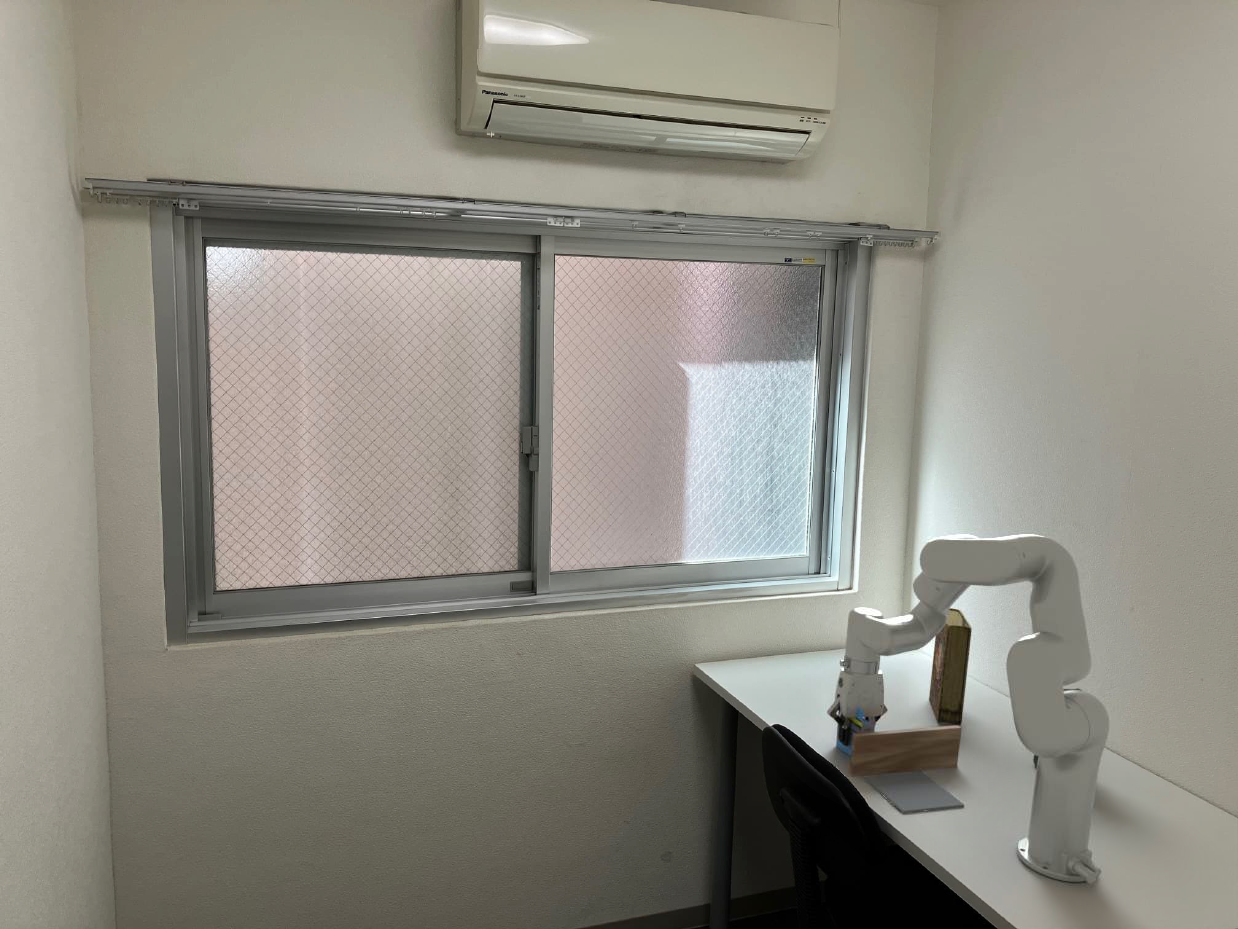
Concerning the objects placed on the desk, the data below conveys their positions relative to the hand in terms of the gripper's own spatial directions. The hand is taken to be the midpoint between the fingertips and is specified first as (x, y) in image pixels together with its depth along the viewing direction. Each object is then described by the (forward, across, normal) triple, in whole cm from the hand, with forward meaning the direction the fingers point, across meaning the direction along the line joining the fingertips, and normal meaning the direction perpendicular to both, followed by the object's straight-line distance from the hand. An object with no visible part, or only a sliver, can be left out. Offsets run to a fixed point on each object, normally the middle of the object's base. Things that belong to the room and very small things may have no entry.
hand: (854, 741), depth 195 cm
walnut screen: (+3, +7, -9) cm, 12 cm away
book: (+3, +36, +17) cm, 40 cm away
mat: (+3, +3, -18) cm, 18 cm away
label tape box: (+3, 0, 0) cm, 3 cm away
